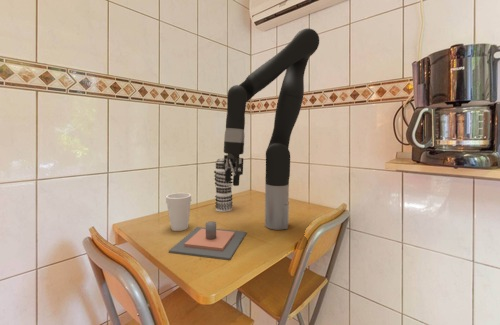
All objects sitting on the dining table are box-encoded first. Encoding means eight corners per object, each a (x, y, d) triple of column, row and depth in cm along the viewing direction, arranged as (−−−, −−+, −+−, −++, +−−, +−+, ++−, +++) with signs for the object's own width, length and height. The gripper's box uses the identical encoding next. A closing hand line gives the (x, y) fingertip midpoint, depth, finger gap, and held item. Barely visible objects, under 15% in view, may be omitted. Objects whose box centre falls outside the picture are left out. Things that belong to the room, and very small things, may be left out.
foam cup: (196, 224, 97) (195, 193, 96) (184, 233, 88) (183, 199, 87) (175, 222, 100) (174, 192, 98) (162, 230, 91) (160, 197, 90)
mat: (246, 233, 89) (246, 231, 89) (230, 260, 70) (230, 258, 70) (197, 228, 94) (197, 226, 93) (168, 252, 74) (168, 250, 74)
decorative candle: (225, 213, 112) (225, 160, 109) (210, 210, 117) (209, 159, 114) (236, 208, 120) (236, 158, 117) (222, 205, 125) (221, 157, 122)
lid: (234, 234, 86) (234, 218, 86) (222, 251, 74) (222, 232, 73) (201, 231, 89) (201, 215, 89) (184, 246, 77) (183, 228, 76)
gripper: (251, 142, 85) (248, 187, 87) (236, 141, 98) (233, 180, 99) (231, 141, 82) (228, 187, 83) (218, 140, 95) (216, 180, 96)
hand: (231, 183), depth 91 cm, fingers open, 8 cm apart
